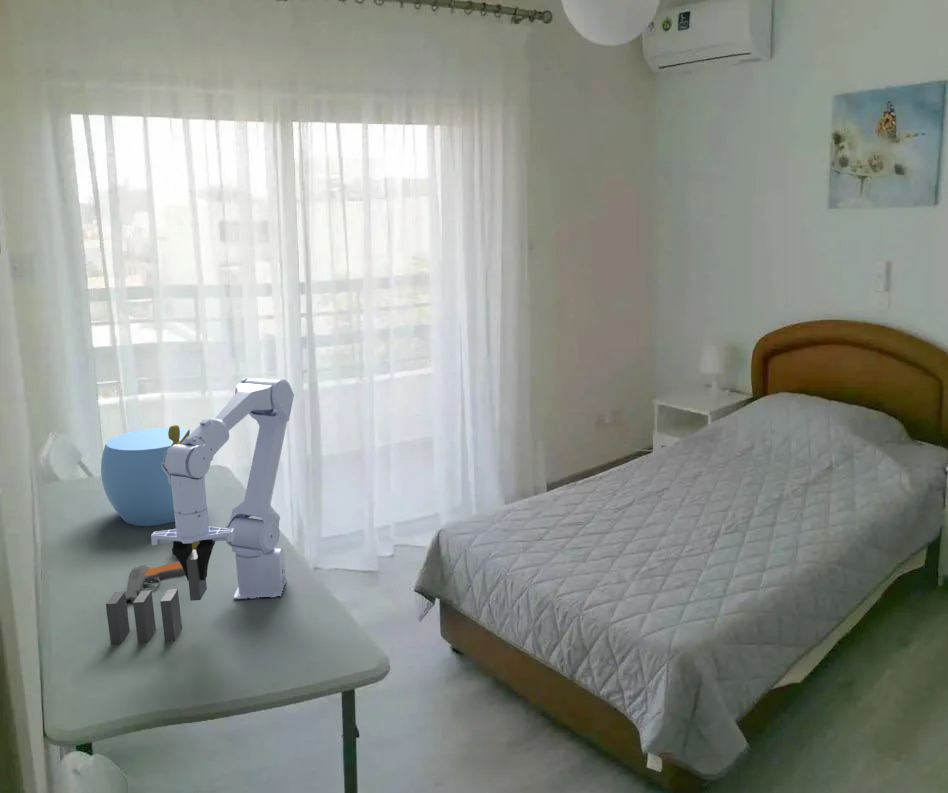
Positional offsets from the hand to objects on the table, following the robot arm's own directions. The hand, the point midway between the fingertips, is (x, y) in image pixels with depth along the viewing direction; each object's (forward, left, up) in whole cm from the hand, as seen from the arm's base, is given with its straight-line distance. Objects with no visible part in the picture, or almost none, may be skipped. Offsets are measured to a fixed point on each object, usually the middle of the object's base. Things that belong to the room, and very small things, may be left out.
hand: (197, 578), depth 155 cm
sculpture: (+11, -38, -10) cm, 41 cm away
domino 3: (0, 0, -3) cm, 3 cm away
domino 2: (+5, +2, -10) cm, 11 cm away
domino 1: (+9, +2, -10) cm, 14 cm away
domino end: (+14, +2, -10) cm, 18 cm away
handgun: (+14, -21, -11) cm, 27 cm away
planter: (+26, -64, -10) cm, 70 cm away
